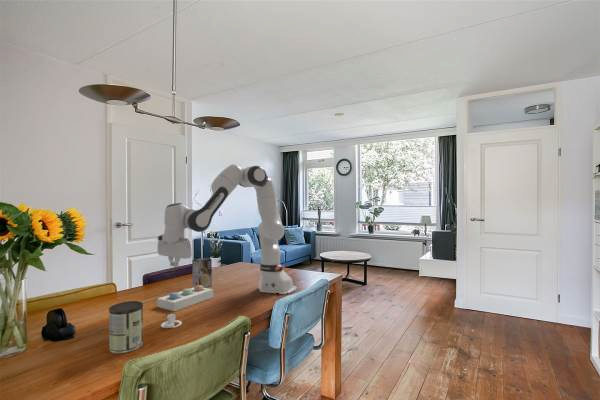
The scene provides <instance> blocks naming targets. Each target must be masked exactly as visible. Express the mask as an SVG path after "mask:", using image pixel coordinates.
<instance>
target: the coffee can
mask: <svg viewBox="0 0 600 400" xmlns="http://www.w3.org/2000/svg"><path fill="white" fill-rule="evenodd" d="M143 306H144V303H143V302H142V301H138V300H137V301H134V300H130V301H123V302H119V303H116V304H113V305H111V306H109V307H108V313H109V315H108V316H109V319H108V320H109V323H108V324H109V325H108V326H109V328H108V329H109V331H108V332H109V335H108V336H109V348H108V349H109V352H110V353H112V354H125V353H130V352H133V351H135V350H138V349H139V348H141V347H142V346H143V345H144V344H143V343H144V342H143V340H144V339H143V337H144V336H143V333H144V332H143V331H144V329H143V319H144V318H143V317H144V316H143V309H144V308H143Z"/></svg>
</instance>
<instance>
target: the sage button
mask: <svg viewBox="0 0 600 400" xmlns="http://www.w3.org/2000/svg"><path fill="white" fill-rule="evenodd" d="M181 291H182V295H185V296H187V295H190V294H191V289H190V288H184V289H181Z"/></svg>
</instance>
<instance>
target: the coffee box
mask: <svg viewBox="0 0 600 400" xmlns="http://www.w3.org/2000/svg"><path fill="white" fill-rule="evenodd" d="M212 261H213V260H212V258H207V257H203V258H198V259H192V261H191V262H192V269H191V270H192V274H191V275H192V288H193V287H194V286H196V285H203V288H209V287H211V286H213V282H212V281H213V277H212V269H213V266H212Z"/></svg>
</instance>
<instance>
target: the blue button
mask: <svg viewBox="0 0 600 400" xmlns="http://www.w3.org/2000/svg"><path fill="white" fill-rule="evenodd" d="M178 292H179V291H177V292H176V291H175V292H170V293H169V294H168V295H169V299H170V300H175V299H178V298H179V293H178Z"/></svg>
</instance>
